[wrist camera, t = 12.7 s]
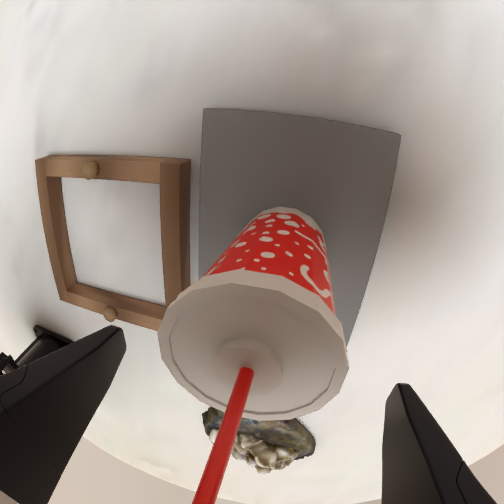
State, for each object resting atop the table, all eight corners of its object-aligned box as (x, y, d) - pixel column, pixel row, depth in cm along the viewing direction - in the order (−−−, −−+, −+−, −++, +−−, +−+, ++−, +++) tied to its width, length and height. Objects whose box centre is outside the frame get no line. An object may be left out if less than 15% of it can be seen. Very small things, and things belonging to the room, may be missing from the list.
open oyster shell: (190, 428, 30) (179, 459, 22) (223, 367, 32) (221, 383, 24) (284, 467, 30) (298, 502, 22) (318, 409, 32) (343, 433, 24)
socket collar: (70, 290, 24) (56, 303, 22) (48, 155, 19) (29, 162, 17) (191, 325, 22) (181, 343, 21) (190, 159, 17) (174, 166, 15)
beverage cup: (339, 293, 18) (330, 549, 5) (238, 294, 19) (137, 514, 7) (337, 189, 15) (368, 483, 3) (221, 196, 17) (23, 404, 4)
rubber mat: (204, 317, 22) (199, 326, 21) (209, 108, 16) (203, 108, 15) (343, 343, 20) (344, 353, 20) (396, 133, 14) (401, 135, 13)
